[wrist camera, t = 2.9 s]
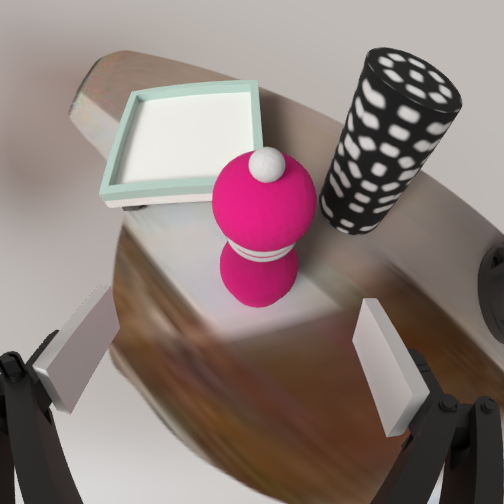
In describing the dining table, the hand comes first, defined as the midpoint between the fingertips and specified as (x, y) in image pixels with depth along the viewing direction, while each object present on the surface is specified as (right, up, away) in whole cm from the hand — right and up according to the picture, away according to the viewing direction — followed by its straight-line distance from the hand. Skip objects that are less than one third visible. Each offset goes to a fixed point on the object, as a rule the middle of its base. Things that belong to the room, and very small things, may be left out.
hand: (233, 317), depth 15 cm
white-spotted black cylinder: (+13, +9, +21) cm, 26 cm away
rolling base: (-7, +16, +23) cm, 29 cm away
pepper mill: (+2, 0, +17) cm, 17 cm away
